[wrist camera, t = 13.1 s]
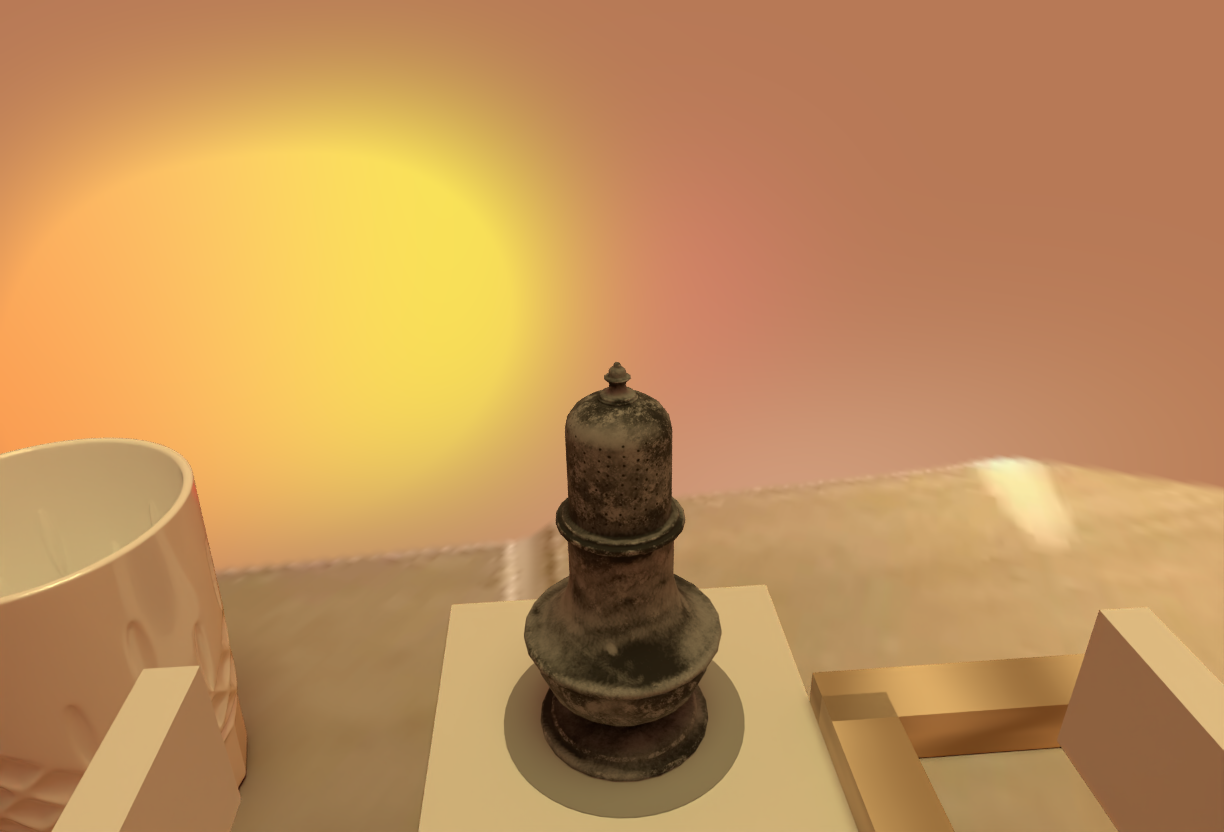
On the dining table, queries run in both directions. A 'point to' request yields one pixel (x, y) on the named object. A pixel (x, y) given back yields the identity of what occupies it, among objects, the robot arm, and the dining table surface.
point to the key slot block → (932, 727)
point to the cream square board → (629, 810)
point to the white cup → (98, 609)
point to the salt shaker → (622, 600)
